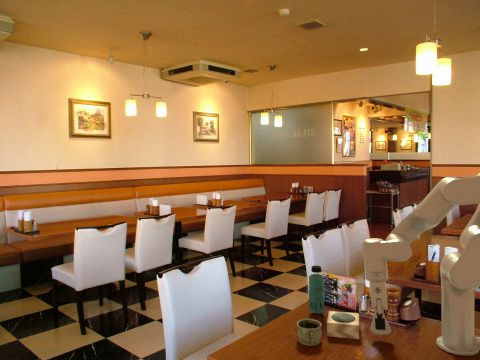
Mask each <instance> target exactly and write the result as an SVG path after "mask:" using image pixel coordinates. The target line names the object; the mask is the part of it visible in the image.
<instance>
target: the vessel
mask: <svg viewBox="0 0 480 360" xmlns="http://www.w3.org/2000/svg"><path fill="white" fill-rule="evenodd" d="M296 329H297V331H296V336H297V337H298V342H299V343H300V344H301V345H304V346H309V347H310V346H311V347H312V346H316V345H319V344H320V343H321V338H322V335H323V334H322V333H323V332H322V323H321V322H320V321H319V320H317V319H313V318H303V319H299V320H298V321H297V322H296Z"/></svg>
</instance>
